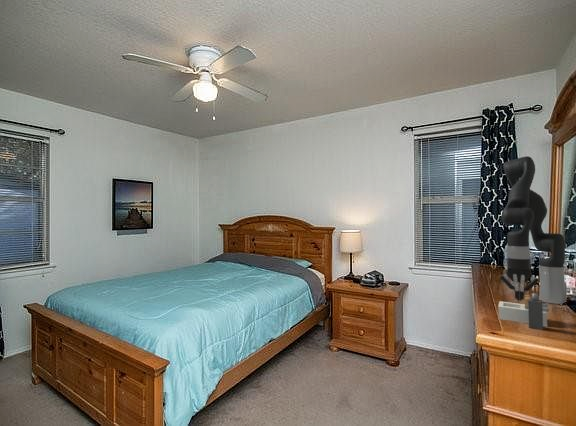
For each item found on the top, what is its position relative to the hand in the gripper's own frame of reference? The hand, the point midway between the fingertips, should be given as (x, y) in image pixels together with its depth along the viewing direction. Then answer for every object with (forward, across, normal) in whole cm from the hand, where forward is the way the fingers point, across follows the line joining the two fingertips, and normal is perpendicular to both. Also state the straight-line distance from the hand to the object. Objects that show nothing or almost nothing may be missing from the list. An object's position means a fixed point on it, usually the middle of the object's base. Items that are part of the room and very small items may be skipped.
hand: (519, 300), depth 124 cm
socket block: (+7, +1, 0) cm, 7 cm away
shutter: (+2, +5, 0) cm, 6 cm away
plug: (+8, +5, -9) cm, 13 cm away
